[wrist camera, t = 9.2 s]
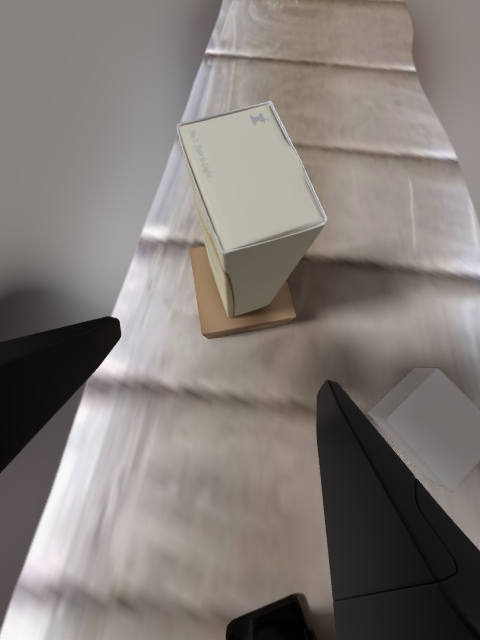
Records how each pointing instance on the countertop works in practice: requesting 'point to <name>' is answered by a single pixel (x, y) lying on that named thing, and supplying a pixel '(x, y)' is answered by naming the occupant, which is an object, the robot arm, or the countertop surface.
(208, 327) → the brown flat block
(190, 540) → the countertop surface
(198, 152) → the skincare box
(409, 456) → the grey block
